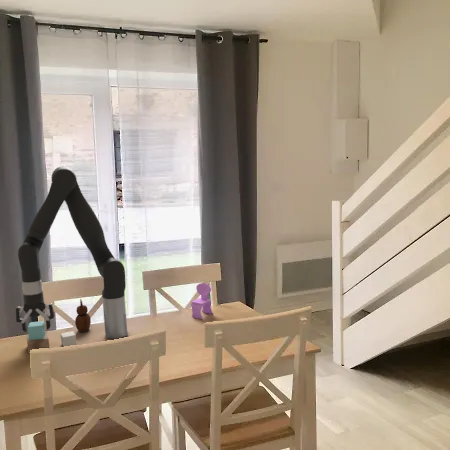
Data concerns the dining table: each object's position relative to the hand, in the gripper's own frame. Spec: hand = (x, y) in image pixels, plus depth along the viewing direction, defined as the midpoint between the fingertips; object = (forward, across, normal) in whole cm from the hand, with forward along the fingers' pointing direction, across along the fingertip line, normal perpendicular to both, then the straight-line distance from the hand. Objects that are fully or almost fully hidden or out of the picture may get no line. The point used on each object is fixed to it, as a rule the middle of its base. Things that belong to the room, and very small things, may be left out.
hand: (36, 330), depth 211 cm
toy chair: (+8, -70, -18) cm, 73 cm away
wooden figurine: (+8, -17, -15) cm, 24 cm away
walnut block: (+8, 0, 0) cm, 8 cm away
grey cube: (+8, -12, +1) cm, 14 cm away
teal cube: (+3, 0, 0) cm, 3 cm away
